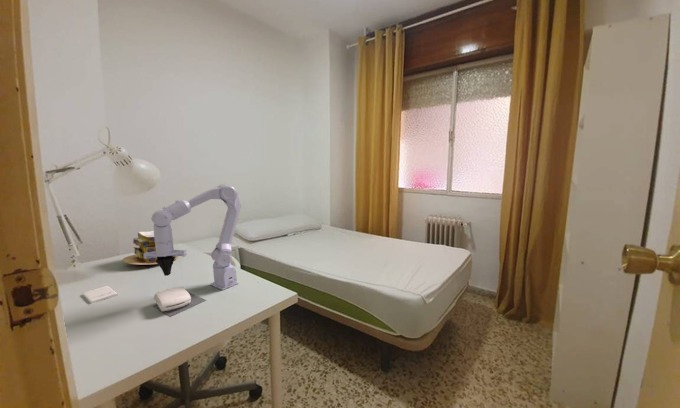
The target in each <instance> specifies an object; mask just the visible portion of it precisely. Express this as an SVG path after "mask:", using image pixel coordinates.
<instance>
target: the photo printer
mask: <svg viewBox="0 0 680 408" xmlns="http://www.w3.org/2000/svg"><path fill="white" fill-rule="evenodd" d="M188 292H189V291H187V290H186V289H185V287H184V286H175V287H172V288H166V289H164V290H160V291H156V292H155V294H154V295H153V299H154V301H155V303H156V304H157V305H158V306H159V308H160V310H161V312H162V311H168V310H173V309H177V308H180V307H183V306H185V305H188V304H189V303H191V296H190V294H189V293H188ZM160 310H159V311H160Z"/></svg>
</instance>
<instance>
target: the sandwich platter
mask: <svg viewBox="0 0 680 408" xmlns="http://www.w3.org/2000/svg"><path fill="white" fill-rule="evenodd" d="M132 243H133V244H134V245H135V246H138V247H133V249H134V254H132V255H128V256H125V257H123V258H122V262H124V264H125V263H126V264H129V265H141V266H142V265H146V266H147V265H158V264H157V263H156V260H157V258H147V259H144V255H143V254H144V253H146V252H155V251H156V247H155V238H154V230H149V231H147V230H146V231H137V237H134V238H133V242H132ZM177 259H179V256H176V257H175V259H174V261H176V260H177Z"/></svg>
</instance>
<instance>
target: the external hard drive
mask: <svg viewBox="0 0 680 408" xmlns="http://www.w3.org/2000/svg"><path fill="white" fill-rule="evenodd" d="M82 296H83V298H84V299H85V300H86V301H87V302H88V303H89V304H90V305H93V304H95V302H96V303H99V302H102V301H104V300H108V299H111V298H114V297H117V296H118V293H117V292H116V291H115V290H114V289H112V288H111V287H110V286H109V285H105V286H102V287H97V288H95V289H91V290H88V291H83V292H82ZM92 303H93V304H92Z"/></svg>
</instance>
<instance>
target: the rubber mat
mask: <svg viewBox="0 0 680 408" xmlns="http://www.w3.org/2000/svg"><path fill="white" fill-rule="evenodd" d="M187 292H188V293H189V294H190V296H191V303H189V304H188V305H185V306H183V307H180V308H177V309H173V310H168V311H161V310H160V308H159V306H158V305H157V303H156V304H154V305H153V306H152V307H153V308H155V309H157V310H158V311H161V312H162V313H163V314H165V315H167V316H168V317H170V318H171V317H173V316H175V315H177V314H180V313H182V312H183V311H186V310H188V309H191V308H193V307H195V306H197V305H199V304H201V303H203V302H206V301H207V299H205V298H203V297H201V296H198V295H196V294H194V293H192V292H190V291H187Z"/></svg>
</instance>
